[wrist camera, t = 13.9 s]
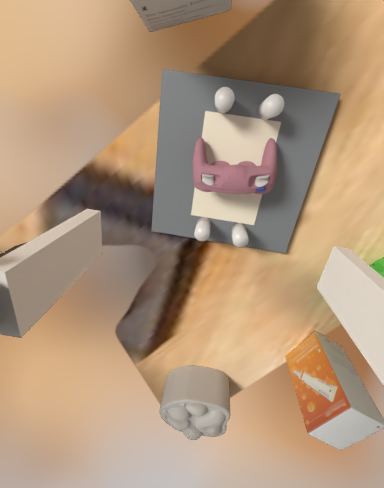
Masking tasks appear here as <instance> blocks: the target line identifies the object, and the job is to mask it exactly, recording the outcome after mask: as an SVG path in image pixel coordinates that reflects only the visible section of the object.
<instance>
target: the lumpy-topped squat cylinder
mask: <svg viewBox="0 0 384 488" xmlns="http://www.w3.org/2000/svg"><path fill="white" fill-rule="evenodd" d="M160 415H161V417H162V419H163V420H164V421H165V422H166V423H167V424H169V425H170V426H172V427H173V428H174V429H176V430H178V431H182V432H183V433H184V435H185V436H186V437H187V438H189V439H191V440H196V439H198V438H199V437H200V436H201V435H203V436H211V437H216V436H220V435H222V434H224V433H225V431H226V423H227V421H228V420H229V418H230V396H229V377H228V376H227V375H226V374H225V373H224V372H222V371H220V370H217V369H213V368H208V367H203V366H195V365H188V366H183V367H179V368H176V369H174V370H172V371H171V372H169V373H168V375H167V378H166V383H165V388H164V392H163V397H162V402H161V407H160Z"/></svg>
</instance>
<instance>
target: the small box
mask: <svg viewBox="0 0 384 488" xmlns="http://www.w3.org/2000/svg"><path fill="white" fill-rule="evenodd" d="M285 357H286V361H287V364H288V368H289V371H290V374H291V378H292V381H293V385H294V388H295V391H296V395H297V398H298V402H299V405H300V408H301V412H302V415H303V419H304V422H305V426H306V429H307V432H308V434H309V435H311V436H313V437H315V438H317V439H319V440H321V441H323V442H325V443H327V444H329V445H331V446H333V447H335V448H337V449H339V450H343V449H345V448H347V447H349V446H351V445H353V444H355V443H357V442H359V441H362V440H364V439H366V438H367V437H369V436H370V435H372V434H374V433H376V432H377V431H379V430H381V429H383V428H384V419H383V417H382V415H381V414H380V412H379V410H378V408H377V407H376V405H375V403H374V401H373V400H372V398H371V396H370V395H369V393H368V391H367V389H366V388H365V386H364V384H363V382H362V381H361V379H360V377H359V375H358V374H357V372H356V370H355V369H354V367H353V365H352V363H351V362H350V360H349V358H348V357H347V355H346V353H345V351H344V350H343V348H342V346H340V345H339V344H337V343H335V342H333V341H332V340H330V339H328V338H326V337H324V336H323V335H321V334H319V333H317V332H316V331H314V332H313V333H312V334H311V335H310V336H309V337H308V338H306V339H305V340H304V341H303V342H302V343H301V344H299V345H298V346H297V347H296V348H295V349H293V350H292V351H291V352H290V353H289V354H287V355H286V356H285Z"/></svg>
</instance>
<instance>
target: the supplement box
mask: <svg viewBox="0 0 384 488" xmlns="http://www.w3.org/2000/svg"><path fill="white" fill-rule="evenodd" d="M130 1H131V3H132V4H133V6H134V8H135V9H136V11H137V12H138V14H139V16H140V17H141V19H142V21H143V22H144V24H145V25H146V27H147V29H148V30H149V32H153V31H156V30H159V29H164V28H167V27H171V26H175V25H179V24H182V23H186V22H190V21H193V20H197V19H201V18H204V17H208V16H212V15H216V14H219V13H223V12H226V11H229V10H230V9H231V3H232V0H130Z"/></svg>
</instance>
